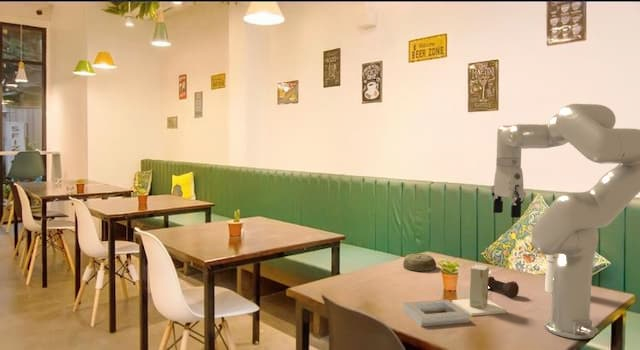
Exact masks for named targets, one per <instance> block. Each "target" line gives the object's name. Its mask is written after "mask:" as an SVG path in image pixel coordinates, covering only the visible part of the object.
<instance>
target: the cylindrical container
mask: <svg viewBox="0 0 640 350" xmlns="http://www.w3.org/2000/svg"><path fill="white" fill-rule="evenodd" d="M545 256H546V259H545V260H546V261H545V280H544V281H545V282H544V283H545V285H544V290H545V292H547V293H549V294H552V289H553V270H554V263H555V260H556V258H557V256H558V255H545Z"/></svg>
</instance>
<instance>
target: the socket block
mask: <svg viewBox="0 0 640 350" xmlns="http://www.w3.org/2000/svg"><path fill="white" fill-rule="evenodd" d="M402 303H403V304H402V309H403V310H402V311H403V312H404V313H405V314H406V315H407V316H409V317H410V318H411V319H412V320H413V321H414V322H415V323H417V324H418V325H419V326H420V327H429V326H430V327H431V326H432V327H434V326H443V325H444V326H445V325H454V324H465V323H469V322H470V314H468V313H467V312H465V311H464V310H463V309H461V308H460V307H458V306H457V305H455V304H454V303H452V300H449V299H447V298H446V299H436V300H435V299H433V300H423V301H422V300H421V301H411V302H410V301H409V302H402ZM440 311H444V312H440ZM428 312H435V313H428ZM436 312H437V313H436Z"/></svg>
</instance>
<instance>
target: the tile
mask: <svg viewBox="0 0 640 350" xmlns="http://www.w3.org/2000/svg"><path fill="white" fill-rule="evenodd" d="M451 302H452V303H454V304H455V305H457V306H458V307H460V308H461V309H463V310H464V311H465V312H467V313H468V314H469V316H471V317H472V316H473V317H476V316H484V315H485V316H487V315H495V314H496V315H497V314H506V313H507V312H508V311H507V309H505V308H503V307H502V306H500V305H498V304H496V303H495V302H493V301H491V300H490V299H488V303H487V305H486V306H485V307H484V308H478V307H473V306H470V298H465V299H464V298H462V299H452V300H451Z"/></svg>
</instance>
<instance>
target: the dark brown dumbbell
mask: <svg viewBox="0 0 640 350" xmlns="http://www.w3.org/2000/svg"><path fill="white" fill-rule="evenodd" d="M489 276H490V275H489ZM488 286H489V287H490V289H491V290H496V291H499V292H502V293H504V294H505V295H506V298H510V299H511V298H516V297H517V296H518V294H519V290H520V286H519V285H518V283H517V281H514V280H512V281H508V282H503V281H501V280H497V279H495V277H494V276H492V275H491V276H490V277H488Z"/></svg>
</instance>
